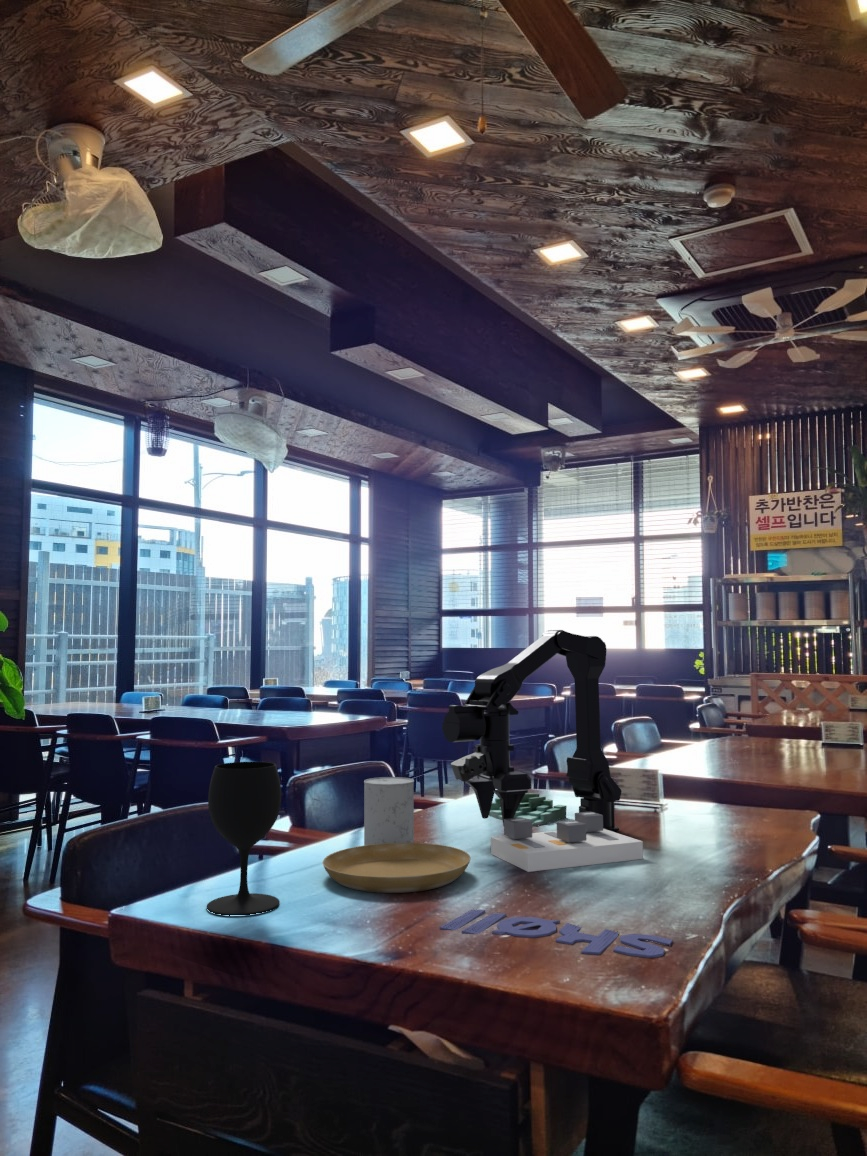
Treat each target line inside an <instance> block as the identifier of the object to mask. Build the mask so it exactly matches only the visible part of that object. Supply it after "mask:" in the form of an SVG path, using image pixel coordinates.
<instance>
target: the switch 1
mask: <svg viewBox="0 0 867 1156" xmlns="http://www.w3.org/2000/svg"><path fill="white" fill-rule="evenodd" d="M532 833H533V826H532V821H529V820H527V819H524V818H511V819H504V826H503V836H508V837H510V838H513V839H521V838H531V837H532Z"/></svg>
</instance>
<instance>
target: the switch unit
mask: <svg viewBox="0 0 867 1156" xmlns="http://www.w3.org/2000/svg"><path fill="white" fill-rule="evenodd" d="M490 855H492V856H493V857H497V858H499V859H500V860H503V861H505V862H507V863H508V864H511V865H513V866H516V867H518V868H519V869H521V870H523V871H526V872H527V873H530V872H531V873H532V872H537V871H538V872H539V871H540V872H541V871H549V870H556V869H564V868H565V869H566V868H575V867H582V866H592V865H601V864H608V863H609V864H610V863H618V862H628V861H635V860H644V842H643V840H640V839H636V838H633V837H631V836H627V835H624V834H621V833H618V832H615V831H609V830H606V829H603V831H593V832H586V841H576V842H567V841H564V840H562V839H559V838H557V830H552V831H542V832H532V837H531V838H521V839H513V838H510V837H508V836H506V835H498V836H490Z"/></svg>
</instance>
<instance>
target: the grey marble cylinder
mask: <svg viewBox="0 0 867 1156" xmlns="http://www.w3.org/2000/svg"><path fill="white" fill-rule="evenodd" d="M414 782H415V779H413V778H409V777H401V776H381V777H373V778H372V777H371V778H367V779H364V781H363V783H364V785H363V786H364V788H363V789H364V790H363V791H364V793H363V795H364V797H363V798H364V800H363V803H364V805H363V807H364V808H363V809H364V815H363V816H364V817H363V819H364V820H363V821H364V823H363V827H364V829H363V833H364V834H363V846H365V845H373V844H384V843H415V842H414V841H415V840H414V839H415V837H414V835H415V834H414V833H415V832H414V830H415V829H414V828H415V824H414V823H415V822H414V821H415V818H414V817H415V816H414V814H415V813H414V811H415V810H414V809H415V808H414V807H415V806H414V805H415V804H414V802H415V801H414V800H415V799H414V791H415V790H414V787H415V783H414Z"/></svg>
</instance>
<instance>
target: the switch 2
mask: <svg viewBox="0 0 867 1156" xmlns="http://www.w3.org/2000/svg"><path fill="white" fill-rule="evenodd" d="M574 820H575V821H578V822H581V823H584V824H586V832H593V831H603V815H601V814H597V813H594V812H580V813H579V812H574Z"/></svg>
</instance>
